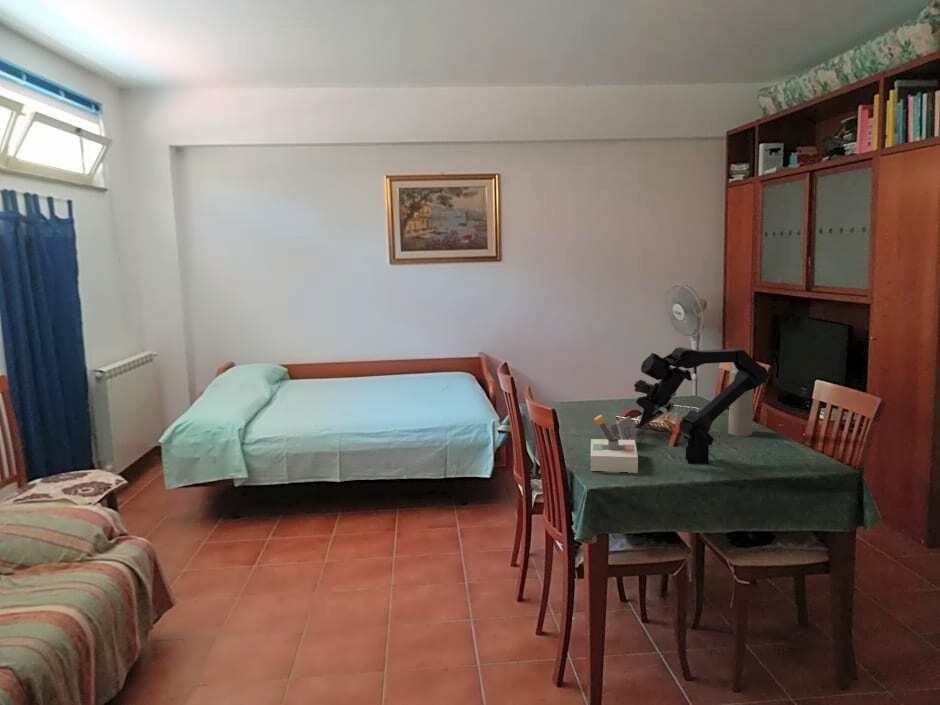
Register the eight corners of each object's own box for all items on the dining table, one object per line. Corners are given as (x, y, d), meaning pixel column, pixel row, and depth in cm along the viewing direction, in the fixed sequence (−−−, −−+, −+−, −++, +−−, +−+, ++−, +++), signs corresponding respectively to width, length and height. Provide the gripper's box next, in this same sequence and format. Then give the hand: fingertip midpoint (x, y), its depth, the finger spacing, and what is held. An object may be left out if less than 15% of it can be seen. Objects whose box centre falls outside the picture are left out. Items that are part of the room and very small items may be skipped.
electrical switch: (625, 449, 239) (622, 422, 238) (611, 448, 242) (609, 421, 241) (637, 442, 246) (635, 416, 245) (624, 441, 249) (621, 415, 248)
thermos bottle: (751, 430, 256) (754, 353, 251) (752, 436, 248) (755, 357, 244) (728, 429, 258) (730, 353, 254) (728, 435, 251) (730, 356, 246)
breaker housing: (634, 454, 233) (634, 432, 231) (637, 472, 215) (637, 448, 214) (591, 453, 235) (590, 431, 234) (590, 471, 218) (590, 447, 216)
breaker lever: (618, 442, 225) (601, 414, 225) (618, 445, 222) (601, 416, 222) (611, 446, 226) (594, 417, 225) (611, 449, 223) (594, 420, 222)
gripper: (657, 370, 231) (631, 409, 235) (636, 370, 215) (608, 411, 220) (686, 390, 225) (658, 430, 230) (666, 391, 210) (637, 434, 214)
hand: (640, 426), depth 224 cm, fingers closed
